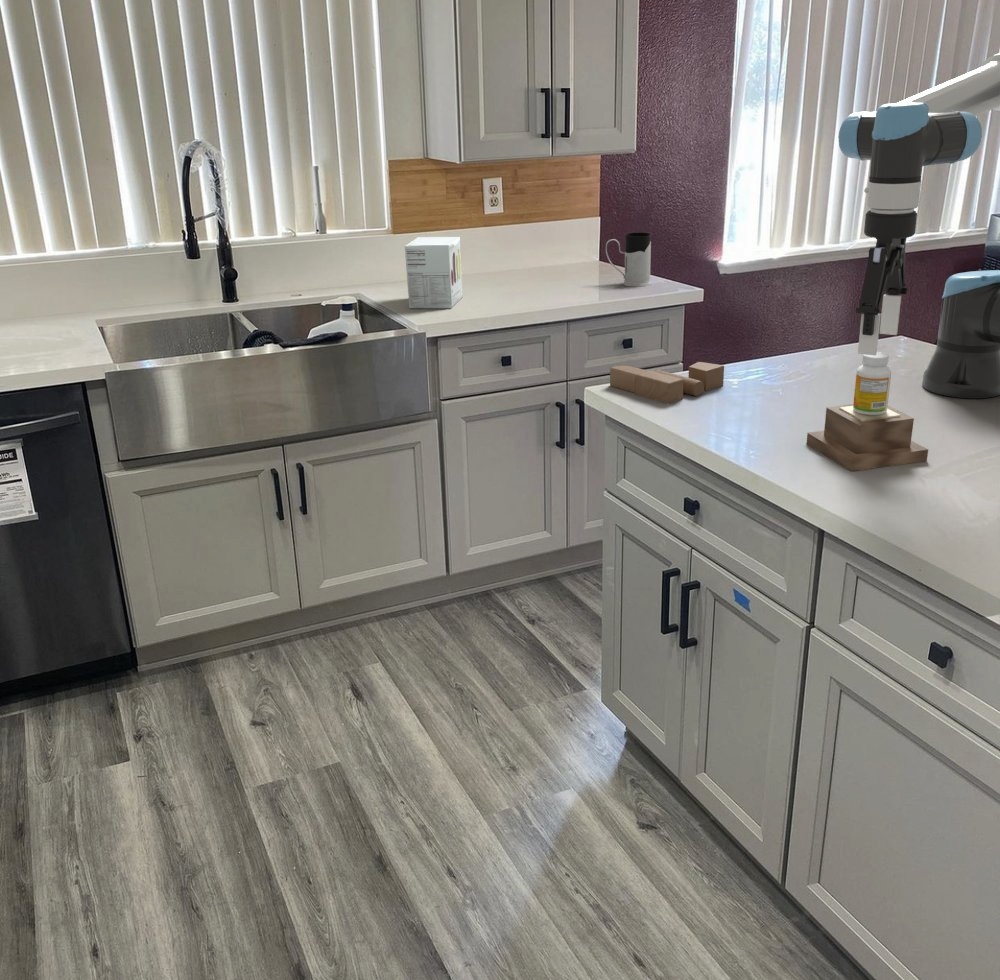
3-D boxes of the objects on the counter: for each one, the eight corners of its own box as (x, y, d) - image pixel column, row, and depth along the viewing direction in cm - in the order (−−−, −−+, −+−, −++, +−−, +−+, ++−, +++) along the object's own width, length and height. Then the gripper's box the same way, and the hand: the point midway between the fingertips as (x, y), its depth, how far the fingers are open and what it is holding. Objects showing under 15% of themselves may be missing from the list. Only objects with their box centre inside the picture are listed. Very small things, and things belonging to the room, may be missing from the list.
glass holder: (652, 286, 304) (653, 236, 299) (605, 287, 306) (605, 237, 300) (650, 280, 312) (651, 231, 307) (605, 281, 314) (605, 233, 308)
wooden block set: (671, 379, 195) (608, 362, 208) (671, 407, 197) (608, 388, 211) (728, 362, 205) (664, 347, 218) (727, 388, 207) (663, 372, 220)
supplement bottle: (859, 404, 170) (865, 348, 166) (891, 409, 167) (898, 352, 163) (847, 412, 166) (853, 355, 163) (880, 418, 163) (886, 360, 159)
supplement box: (453, 309, 286) (449, 245, 279) (408, 309, 288) (403, 245, 281) (464, 296, 301) (461, 235, 294) (421, 296, 304) (417, 236, 297)
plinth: (877, 434, 177) (882, 394, 174) (926, 460, 165) (932, 419, 162) (806, 443, 174) (809, 403, 171) (851, 471, 162) (855, 428, 159)
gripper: (886, 198, 165) (873, 324, 174) (844, 221, 146) (832, 360, 155) (934, 199, 162) (919, 328, 170) (897, 222, 143) (882, 366, 151)
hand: (878, 343), depth 162 cm, fingers open, 13 cm apart
